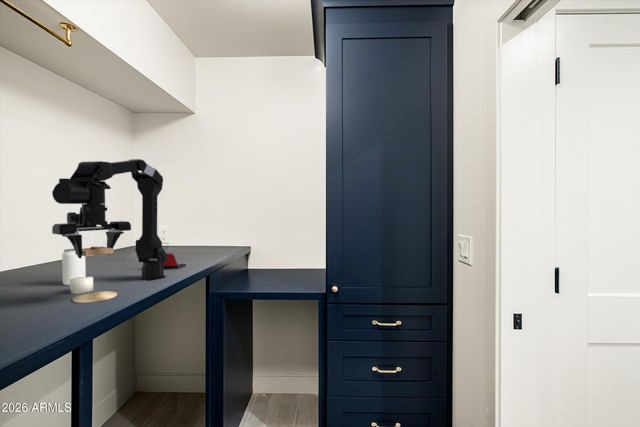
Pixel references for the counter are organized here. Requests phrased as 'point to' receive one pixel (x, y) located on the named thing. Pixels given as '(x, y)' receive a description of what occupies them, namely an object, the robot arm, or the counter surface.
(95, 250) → the lid
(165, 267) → the red cap
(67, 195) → the robot arm
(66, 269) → the can
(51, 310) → the counter surface
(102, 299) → the disc
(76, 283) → the white short cylinder
